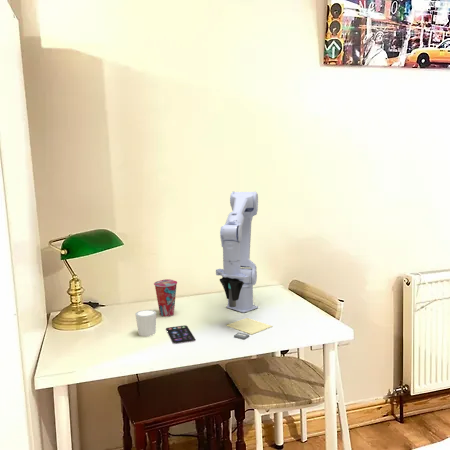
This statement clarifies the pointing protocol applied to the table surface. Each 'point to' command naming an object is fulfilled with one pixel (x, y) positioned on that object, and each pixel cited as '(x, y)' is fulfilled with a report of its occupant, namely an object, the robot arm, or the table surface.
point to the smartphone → (180, 334)
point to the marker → (231, 302)
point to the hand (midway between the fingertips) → (232, 299)
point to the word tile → (241, 336)
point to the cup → (166, 296)
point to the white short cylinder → (146, 322)
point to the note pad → (249, 326)
